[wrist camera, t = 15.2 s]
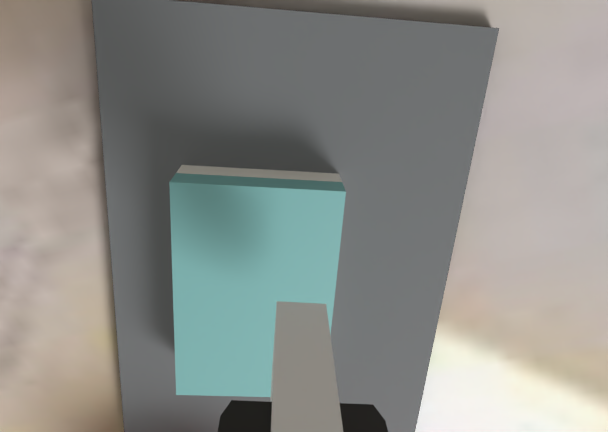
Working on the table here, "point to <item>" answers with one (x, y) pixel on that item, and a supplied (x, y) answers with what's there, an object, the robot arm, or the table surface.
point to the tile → (246, 268)
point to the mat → (289, 157)
